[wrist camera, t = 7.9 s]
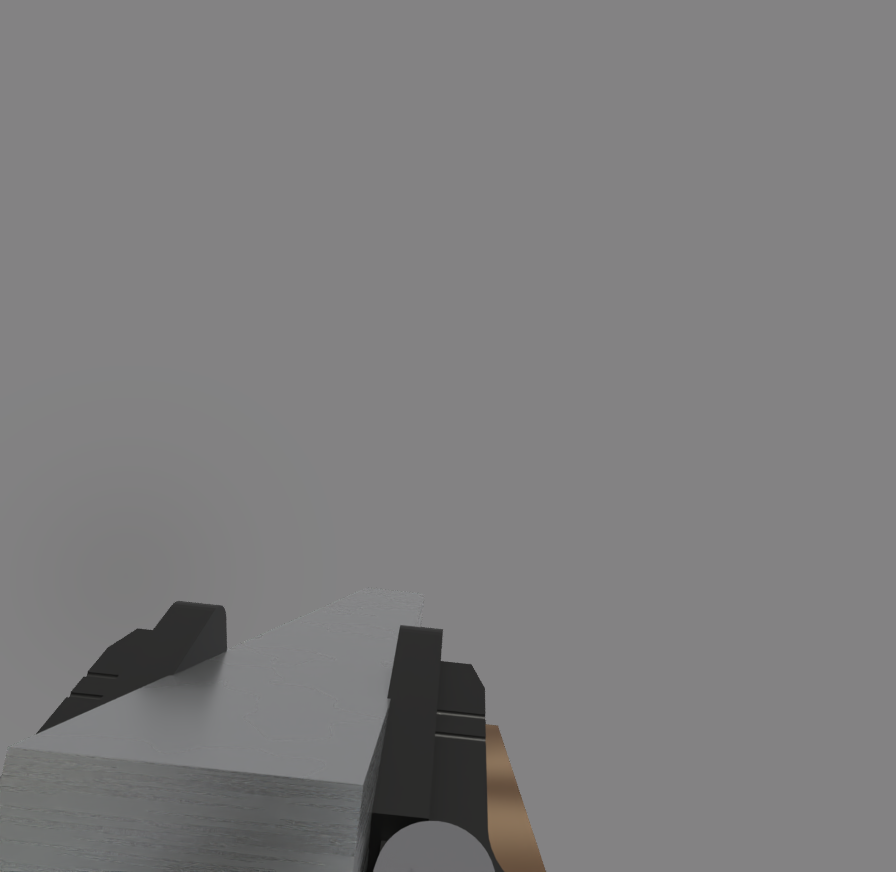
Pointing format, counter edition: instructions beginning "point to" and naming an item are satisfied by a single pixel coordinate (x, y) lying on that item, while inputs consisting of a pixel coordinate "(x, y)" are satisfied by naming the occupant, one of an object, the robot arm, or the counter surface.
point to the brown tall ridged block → (508, 812)
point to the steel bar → (220, 758)
